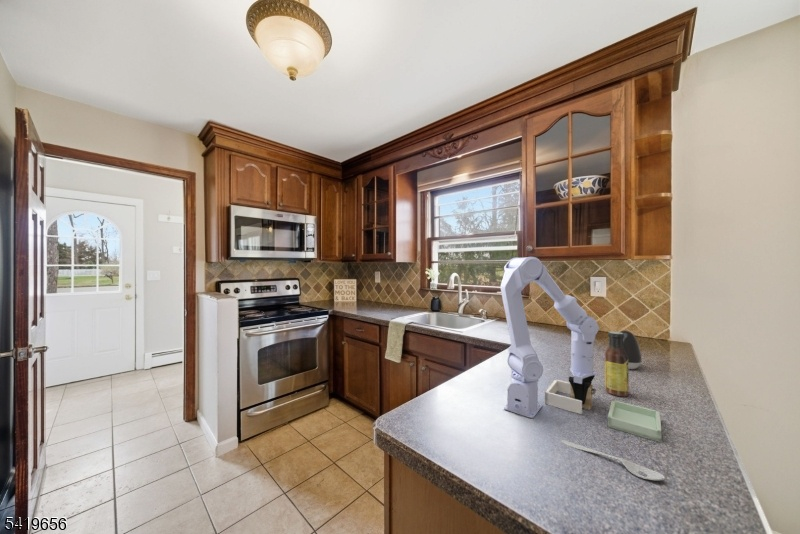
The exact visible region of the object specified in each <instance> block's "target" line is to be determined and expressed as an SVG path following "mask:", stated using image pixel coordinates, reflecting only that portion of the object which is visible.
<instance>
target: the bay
mask: <svg viewBox="0 0 800 534" xmlns="http://www.w3.org/2000/svg"><path fill="white" fill-rule="evenodd" d="M557 392H559V393H562V394H567V395H570V396H571V384H570V382H569V381H564V380H561V379H560V380H559V379H554V380H553V381H552V383H551V384H550V385H549V386H548V387H547V389H546V391H545V392H544V404H545V405H547V406H551V407H556V408H559V409H561V410H565V411H568V412H572V413H576V414H579V415H582V414H583V408H582V401H581V400H577V399H573V398H571V397H568V396H565V395H561V394H557Z"/></svg>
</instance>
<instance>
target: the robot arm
mask: <svg viewBox="0 0 800 534" xmlns="http://www.w3.org/2000/svg"><path fill="white" fill-rule="evenodd" d="M503 269H504V272H503V277H502V280H501V282H500V292H501V293H500V294H501V298H502V303H503V308H504V313H505V318H506V323H507V330H508V334H509V339H510V344H511V345H510V346H509V347H508V348H507V351H508V355H507V360H506V361H507V365H508V367H509V368H510V369H511V371H510V374H511V375H510V376H511V377H510V378H511V379H510V384H509V385H508V387H507V394H506V395H507V397H506V398H507V400H506V401H507V402H506V403H507V404H506V405H504V407H503V410H506V411H508V412H512V413H515V414H517V415H521V416H524V417H527V418H530V419H534V418H535V417H536V416H537V414H538V412H539V411H540V410H541V409H542V407H543V405H542V403H538V396H539V395H538V394H539V393H538V391H539V386H538V385H539V379H541V377H542V376H543V373H544V366H543V363H542V362H541V361H540V360H539V358H538V353H537V351H536V350H535V348H534V347H533V345H532V341H531V338H530V333H529V332H530V331H529V326H528V321H527V315H526V310H525V305H524V301H523V295H522V291H523V290H524V289H525V287H526V286H527V285H529V284H531V283H535V284H537V285H538V286H539V287H540V288H541V289H542V291H544V292H545V293H546V294H547V295H548V297H550V299H552V301H553V302H554V304H553V307H554V309H555V310H556V311H557V313H559V315H560V316H561V317H562V318H563V319H564V320H565V322H566V323H565V324H566V327H567V329H569V330H570V331H571V335H570V336H571V337H570V342H571V343H570V367H569V371H570V373H571V374H572V375H573V376H569V377H568V382H569V383H570V384H571V386H572V388H573V392H574V396H575V399H577V400H581V401H582V404H584V403H585V400H586V395H587V391H588V388H589V387H590V385H591V384H593V383H592V382H593V380H594V379H595V376H599V371H597V370H594V355H595V354H594V353H595V352H594V351H595V350H594V343H595V340H596V335H597V333H598V332H599V330H600V326H599V325H598V322H597V320H596V319H595V318H594V317H593V316H589V315H588V314H587V311H586V309H583V308H582V306H580V304H579V303H578V299H577V298H576V297H574V296H572V295H569V294H567V295H566V294H565V293H564V292H563V291H562V290H561V287H559V285H558V284H557V283H556V281H555V280H554V279H553V277H552V276H551V275H550V273H549V271H548V269H547V266H546V265H544V263H542V261H541V260H540V259H539V258H538V257H535V256H528V257H512V258H511V259H509V260H508V261H507V263H506V264H505V265H504V266H503Z"/></svg>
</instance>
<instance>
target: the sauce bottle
mask: <svg viewBox="0 0 800 534" xmlns="http://www.w3.org/2000/svg"><path fill="white" fill-rule="evenodd" d="M620 332H621V331H608V347H607V348H606V349H605V351H604V352H605V353H604V356H605V357H604V387H605V391H606V393H608V394H610V395H613V396H616V397H627V396H628V395H629V390H630V389H629V386H630V385H629V380H630V379H629V378H630V377H629V369H628V357H627V354H626V352H625V349H624V347H623V338H624V334H623V333H620Z"/></svg>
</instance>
